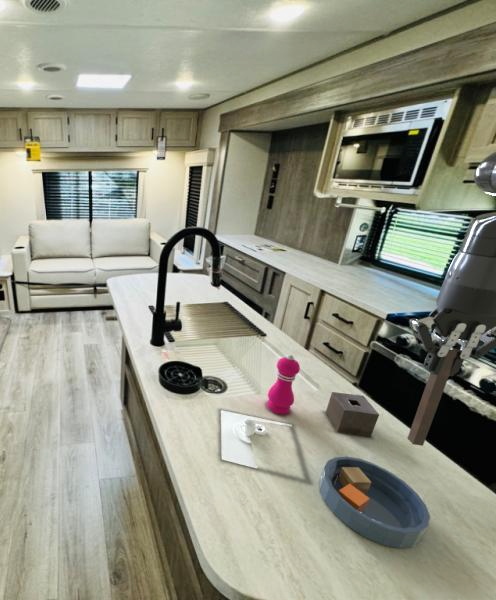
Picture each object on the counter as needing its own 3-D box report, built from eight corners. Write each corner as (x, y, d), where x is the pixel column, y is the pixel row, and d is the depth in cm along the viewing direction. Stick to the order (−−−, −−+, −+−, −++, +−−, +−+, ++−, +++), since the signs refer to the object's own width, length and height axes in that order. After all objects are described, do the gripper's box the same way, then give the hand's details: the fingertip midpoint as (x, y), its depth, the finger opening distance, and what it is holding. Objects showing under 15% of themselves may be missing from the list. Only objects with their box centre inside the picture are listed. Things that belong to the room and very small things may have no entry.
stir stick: (417, 440, 61) (451, 346, 55) (423, 445, 59) (458, 350, 53) (407, 438, 61) (439, 345, 55) (412, 444, 59) (447, 349, 54)
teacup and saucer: (264, 428, 92) (267, 417, 91) (268, 449, 86) (271, 437, 84) (232, 421, 95) (234, 411, 94) (234, 441, 88) (236, 429, 87)
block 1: (353, 479, 76) (358, 467, 74) (366, 494, 72) (371, 482, 71) (336, 478, 76) (341, 467, 74) (348, 494, 72) (353, 482, 71)
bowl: (388, 481, 76) (395, 464, 74) (442, 561, 60) (454, 542, 58) (307, 466, 80) (312, 450, 78) (338, 538, 64) (345, 520, 62)
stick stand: (355, 416, 96) (363, 395, 93) (370, 436, 89) (379, 414, 86) (325, 412, 98) (331, 391, 95) (337, 431, 91) (344, 410, 88)
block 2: (344, 495, 72) (349, 483, 71) (364, 511, 69) (370, 498, 67) (334, 502, 70) (338, 490, 69) (353, 519, 67) (359, 506, 66)
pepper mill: (268, 414, 98) (281, 359, 91) (263, 399, 105) (274, 347, 97) (294, 417, 96) (309, 362, 89) (286, 402, 103) (300, 349, 96)
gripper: (445, 286, 48) (406, 380, 54) (562, 291, 45) (506, 391, 51) (412, 272, 55) (381, 357, 61) (512, 276, 51) (468, 365, 58)
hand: (438, 372), depth 56 cm, fingers closed on stir stick, 1 cm apart
